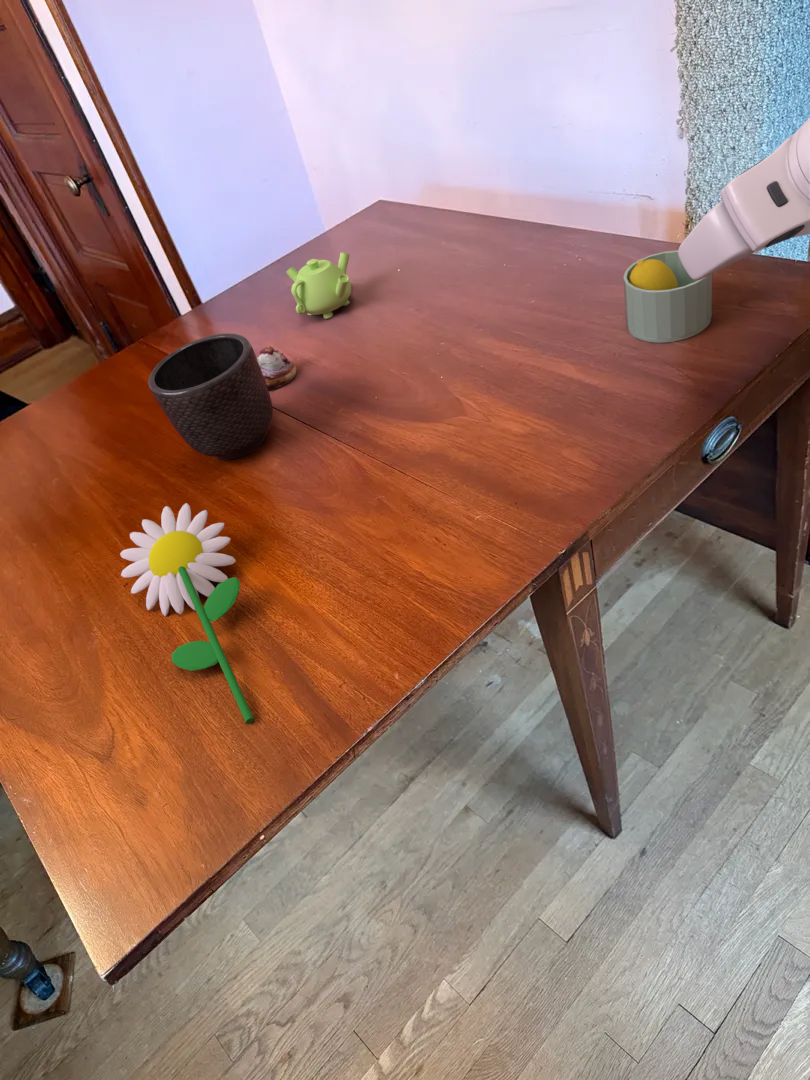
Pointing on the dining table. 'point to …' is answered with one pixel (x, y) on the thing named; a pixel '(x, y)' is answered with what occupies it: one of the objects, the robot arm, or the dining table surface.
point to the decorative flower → (187, 583)
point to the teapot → (321, 286)
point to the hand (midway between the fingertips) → (736, 253)
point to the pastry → (275, 368)
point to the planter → (215, 395)
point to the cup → (668, 304)
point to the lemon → (653, 276)
